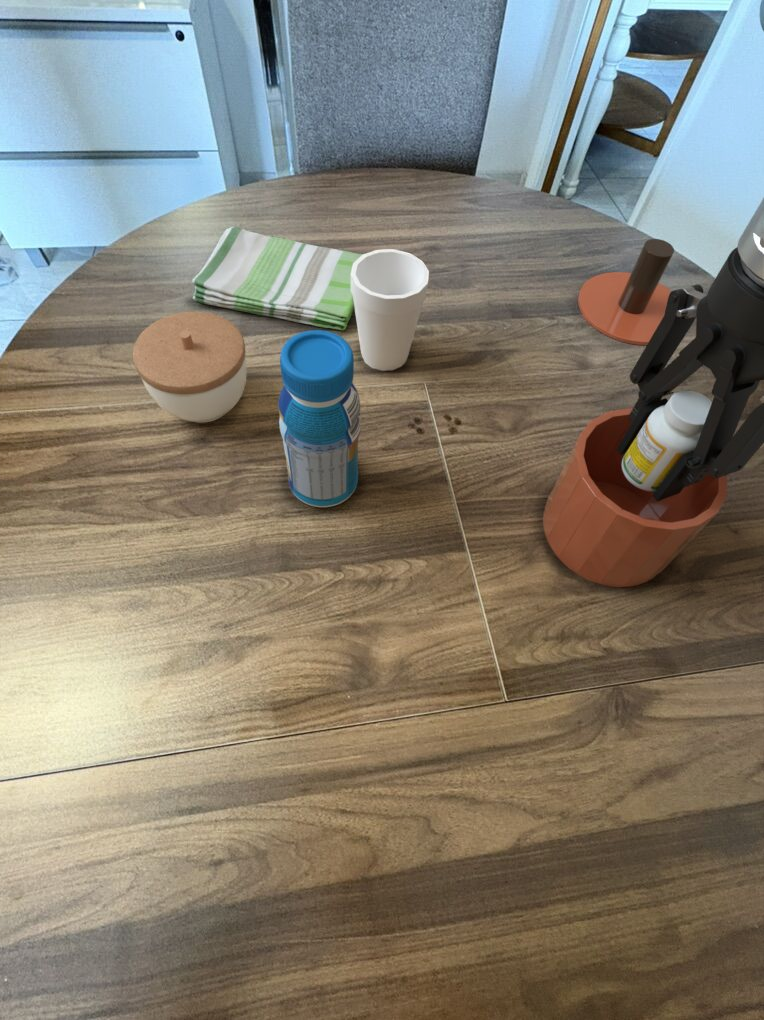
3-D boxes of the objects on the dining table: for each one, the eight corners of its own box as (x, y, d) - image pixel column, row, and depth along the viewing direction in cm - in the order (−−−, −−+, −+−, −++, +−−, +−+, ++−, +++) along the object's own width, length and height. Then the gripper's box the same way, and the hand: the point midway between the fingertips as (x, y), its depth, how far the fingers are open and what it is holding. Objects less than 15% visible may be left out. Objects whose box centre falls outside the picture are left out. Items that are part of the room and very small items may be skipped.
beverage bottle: (310, 522, 69) (298, 400, 52) (274, 471, 73) (253, 341, 56) (372, 490, 72) (381, 365, 55) (335, 442, 76) (332, 310, 59)
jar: (621, 463, 76) (665, 393, 66) (696, 562, 69) (759, 501, 58) (519, 498, 72) (548, 430, 62) (587, 606, 65) (634, 550, 55)
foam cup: (395, 389, 81) (403, 309, 70) (337, 361, 83) (335, 279, 72) (430, 348, 85) (442, 266, 75) (374, 322, 88) (378, 239, 77)
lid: (640, 269, 97) (670, 205, 88) (703, 333, 90) (742, 270, 81) (557, 290, 94) (579, 225, 85) (615, 359, 86) (646, 295, 77)
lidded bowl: (187, 355, 82) (166, 285, 73) (271, 383, 80) (261, 315, 71) (133, 420, 76) (103, 353, 67) (223, 453, 74) (205, 388, 65)
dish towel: (231, 236, 97) (227, 215, 94) (373, 261, 95) (374, 240, 92) (190, 306, 88) (185, 285, 85) (347, 335, 86) (347, 315, 83)
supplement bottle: (614, 481, 60) (656, 417, 52) (626, 443, 63) (666, 376, 55) (669, 501, 59) (720, 438, 51) (678, 461, 62) (727, 396, 54)
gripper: (661, 203, 45) (566, 414, 64) (850, 373, 36) (673, 559, 56) (741, 185, 47) (625, 396, 66) (939, 343, 38) (738, 533, 57)
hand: (647, 470), depth 61 cm, fingers closed on supplement bottle, 5 cm apart
